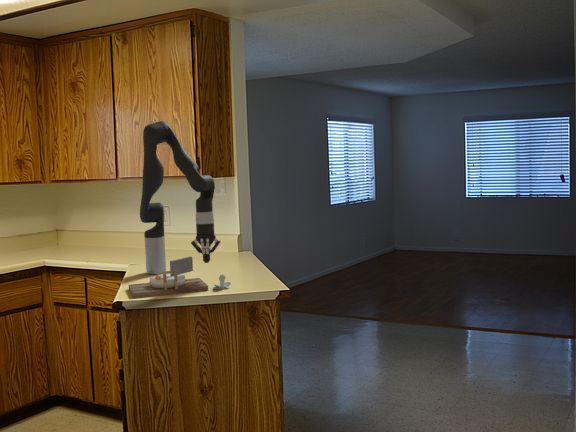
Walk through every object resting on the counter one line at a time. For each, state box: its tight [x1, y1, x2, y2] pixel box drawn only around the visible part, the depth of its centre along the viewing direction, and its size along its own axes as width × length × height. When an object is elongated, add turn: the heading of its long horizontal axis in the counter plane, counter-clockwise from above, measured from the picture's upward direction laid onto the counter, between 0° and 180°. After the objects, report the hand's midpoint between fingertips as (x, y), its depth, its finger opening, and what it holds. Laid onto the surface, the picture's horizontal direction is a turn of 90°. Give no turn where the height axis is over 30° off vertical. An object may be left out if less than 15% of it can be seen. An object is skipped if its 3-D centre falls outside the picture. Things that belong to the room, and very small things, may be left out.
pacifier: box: [212, 273, 232, 290], centre depth 270 cm, size 7×6×6 cm
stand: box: [128, 270, 209, 299], centre depth 270 cm, size 18×30×9 cm, turn 109°
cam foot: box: [149, 256, 194, 288], centre depth 273 cm, size 23×14×9 cm, turn 149°
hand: (206, 262), depth 280 cm, fingers closed
